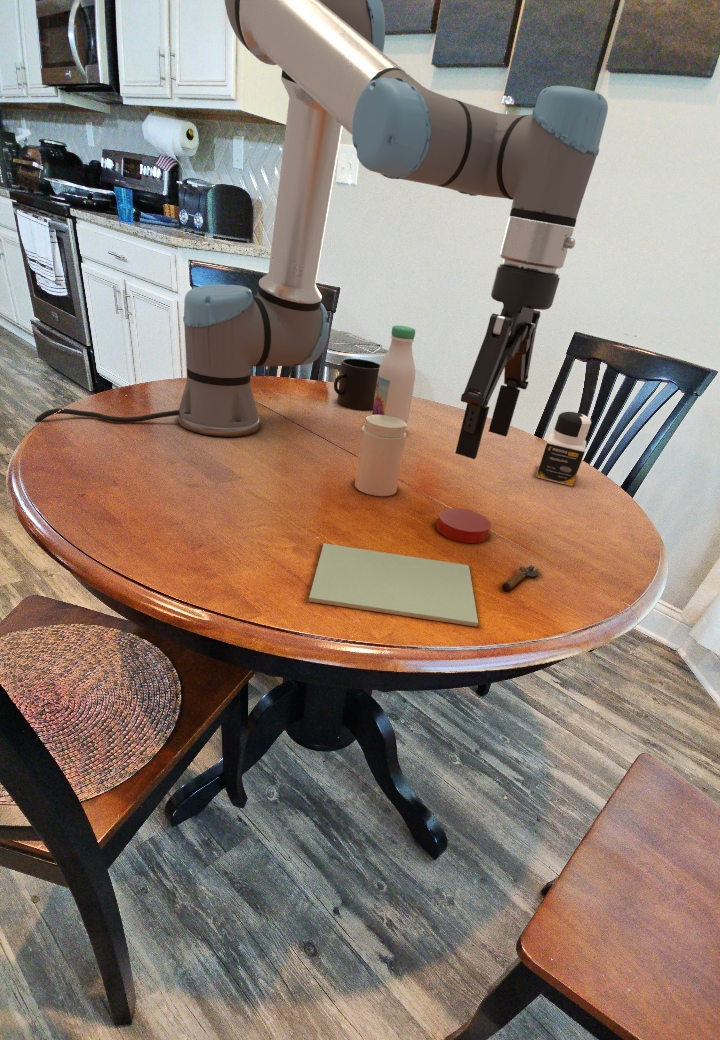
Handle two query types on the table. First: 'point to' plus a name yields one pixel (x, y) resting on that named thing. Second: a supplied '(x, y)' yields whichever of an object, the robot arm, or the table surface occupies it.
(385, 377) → the milk bottle
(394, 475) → the jar
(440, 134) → the robot arm
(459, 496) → the table surface
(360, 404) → the mug
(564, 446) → the medicine bottle
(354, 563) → the mat
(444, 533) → the lid
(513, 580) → the can opener
